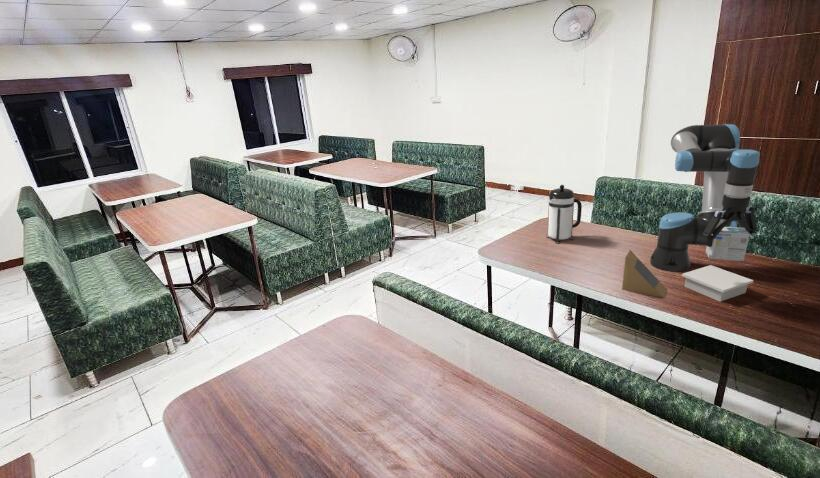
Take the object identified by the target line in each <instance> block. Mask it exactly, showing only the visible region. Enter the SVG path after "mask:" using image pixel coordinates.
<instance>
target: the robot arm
mask: <svg viewBox="0 0 820 478" xmlns="http://www.w3.org/2000/svg"><path fill="white" fill-rule="evenodd" d="M740 133H741V132H740V129H739V127H738V126H737V125H736V124H733V123H732V124H731V123H722V124H721V123H720V124H694V125H693V124H692V125H689V126H686V127H683V128H682V129H680V130H678V131H676V132H675V133H674V134H673V136H672V137H671V140H670V146H671V149H672V150H673V152H676V156H675V160H674V161H675V162H674V168H675V171H676V172H683V173H687V172H688V173H691V172H692V173H693V172H695V173H696V172H699V173H700V172H703V186H702V187H703V189H702V202H701V203H702V205H701V206H702V207H701V211H700V212H698V213H697V217H695V216H694V215H693V214H692V213H689V212H678V211H677V212H670V213H667V214H665V215H663V216H662V217H660V223H659V225H658V228H659V229H658V235H657V240H656V241H657V244H656V247H655V249H654V251H653V253H652V255H651V256H650V260H649V261H650V262H649V263H650V265H651V266H652V267H654V268H656V269H660V270H663V271H669V272H684V271H687V270H689V269H690V267H691V260H690V259H691V258H690V255H689V245H690V246H691V245H692V246H705V247H706V249H705V254H706V255H707V254H709V255H711V256H713V255H714V250H715V245H716V240H717V239H716V238H715V237H716V236H717V235H718V234H719V232H720V231H721V230H722V229H723V228H724V227H738V225H739V226H740V228H745V229H746V230H747V231H748V232H749V234H750V235H753V234H754V233H755V232H756V231H757V225H756V224H757V223H756V219H755V207H754V206H750V203H751V196H752V191H753V188H754V183H755V179H756V176H757V175H756V174H757V172H758V167H759V164H760V157H761V153H760V151H759V150H758V151H757V150H754V149H740V148H739V147H740V144H741V143H740V142H741V134H740ZM712 234H713V235H712Z"/></svg>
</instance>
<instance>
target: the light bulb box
mask: <svg viewBox="0 0 820 478" xmlns="http://www.w3.org/2000/svg"><path fill="white" fill-rule="evenodd" d="M712 235H713V234H712ZM750 235H751V234H749V232H748V231H747V230H746V229H745V228H741V226H740V227H739V226H737V227H724V228H723V229H722V230H721V231H720V232H719V234H718V235H717V236H716V237H715V238H716V239H717V240H716V245H715V250H714V255H713V256H711V255H709V254H707V253H706V255H707V258H708V259H710V260H711V259H712V260H722V261H723V260H725V261H739V262H744V261H745V256H746V252H747V247H748V245H749V244H748V243H749V240H750V239H749V238H750Z"/></svg>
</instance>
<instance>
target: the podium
mask: <svg viewBox="0 0 820 478" xmlns="http://www.w3.org/2000/svg"><path fill="white" fill-rule="evenodd" d="M681 277H683V278H685V281H684V288H686V289H690V290H692V291H694V292H697V293H698V294H701V295H704V296H706V297H708V298H710V299H713V300H716V301H718V302H724V301H726V300H729V299H732V298H735V297H738V296H740V295H743V294H746V292H747V288H748V285H750V284H753V283H754V280H753V279H750V278H749V277H745V276H742V275H739V274H737V273H734V272H731V271H729V270H728V271H727V270H725V269H723V268H720V267H717V266H714V265H711V264H710V265H707V266H704V267H700V268H696V269H693V270H691V271H687V272H684V273H682V274H681Z"/></svg>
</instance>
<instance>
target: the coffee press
mask: <svg viewBox="0 0 820 478" xmlns="http://www.w3.org/2000/svg"><path fill="white" fill-rule="evenodd" d="M575 196H576V194H575V193H574V191H573V190H572V189H569V188H565V185H564V184H560V185H559V188H555V189H552V190H550V192H549V194H548V200H547V202H548V213H547V215H548V217H547V234H545V236H547V235H548V236H549V238H551V239H555V243H556V242H559V243H560V240H567V239H570V240H571V239H575V237H574V235H573V229H575V228H577V227H578V226H579V225H580V223H581V220H582V208H583V206H582V202H581V200H579V199H577V198H575ZM575 203H576V205H577V211H576V212H577V214H576V221H575V222H574V212H575V211H574V208H575ZM573 222H574V223H573Z"/></svg>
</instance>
